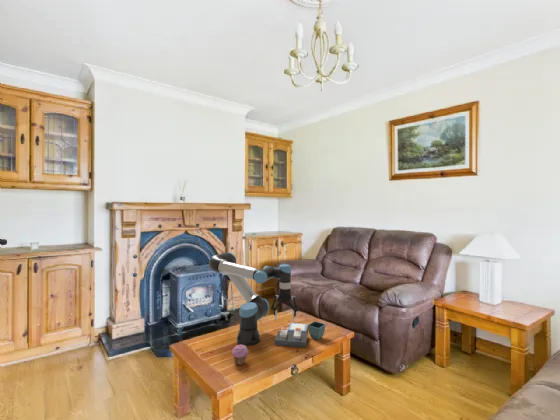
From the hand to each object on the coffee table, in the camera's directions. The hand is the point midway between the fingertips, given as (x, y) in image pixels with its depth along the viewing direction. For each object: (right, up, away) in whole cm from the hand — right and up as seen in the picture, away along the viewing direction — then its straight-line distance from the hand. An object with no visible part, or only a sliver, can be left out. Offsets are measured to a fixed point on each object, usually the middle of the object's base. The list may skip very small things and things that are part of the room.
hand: (284, 320), depth 203 cm
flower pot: (+21, -12, +1) cm, 25 cm away
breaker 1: (-1, -7, -3) cm, 7 cm away
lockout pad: (+10, -12, +15) cm, 22 cm away
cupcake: (-26, -13, -31) cm, 42 cm away
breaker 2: (+8, -7, -5) cm, 12 cm away
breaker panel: (+4, -12, -4) cm, 13 cm away
